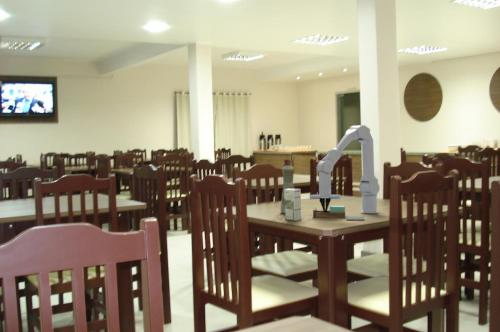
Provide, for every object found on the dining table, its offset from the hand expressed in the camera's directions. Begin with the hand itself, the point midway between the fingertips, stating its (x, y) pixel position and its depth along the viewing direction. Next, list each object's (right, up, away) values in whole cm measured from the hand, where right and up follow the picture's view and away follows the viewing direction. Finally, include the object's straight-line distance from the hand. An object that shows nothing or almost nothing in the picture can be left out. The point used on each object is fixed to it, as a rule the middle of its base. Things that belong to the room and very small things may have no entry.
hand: (325, 214), depth 259 cm
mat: (+12, -1, -11) cm, 16 cm away
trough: (+2, -1, 0) cm, 2 cm away
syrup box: (-16, -2, -8) cm, 18 cm away
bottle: (-16, -1, +14) cm, 22 cm away
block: (+6, -1, -1) cm, 6 cm away
